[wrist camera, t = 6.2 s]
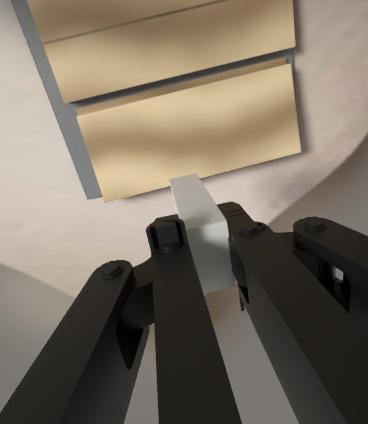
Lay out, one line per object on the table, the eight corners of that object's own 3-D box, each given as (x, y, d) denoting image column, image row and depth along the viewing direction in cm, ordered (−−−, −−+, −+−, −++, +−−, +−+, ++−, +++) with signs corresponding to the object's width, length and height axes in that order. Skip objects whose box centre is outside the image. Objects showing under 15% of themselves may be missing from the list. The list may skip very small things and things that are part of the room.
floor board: (23, -20, 20) (16, -27, 19) (279, -80, 21) (286, -90, 20) (68, 102, 24) (64, 103, 22) (288, 48, 24) (295, 46, 23)
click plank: (76, 108, 24) (73, 108, 23) (283, 57, 24) (289, 54, 23) (106, 199, 26) (104, 202, 25) (295, 151, 26) (301, 152, 25)
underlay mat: (-1, -32, 20) (-2, -34, 20) (280, -97, 21) (282, -100, 20) (88, 198, 27) (87, 199, 27) (297, 144, 28) (298, 145, 27)
